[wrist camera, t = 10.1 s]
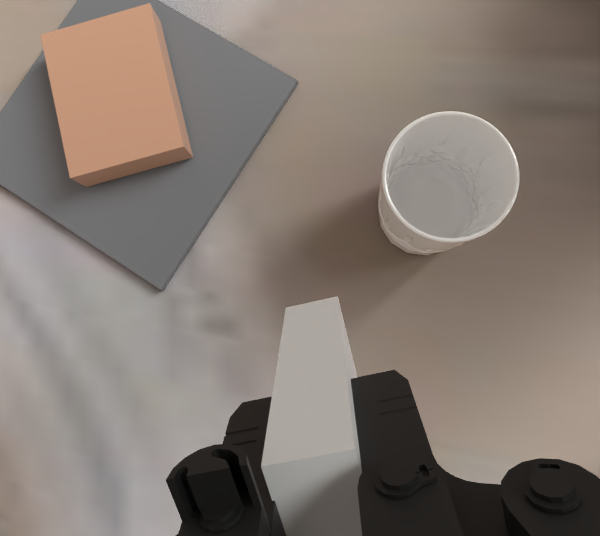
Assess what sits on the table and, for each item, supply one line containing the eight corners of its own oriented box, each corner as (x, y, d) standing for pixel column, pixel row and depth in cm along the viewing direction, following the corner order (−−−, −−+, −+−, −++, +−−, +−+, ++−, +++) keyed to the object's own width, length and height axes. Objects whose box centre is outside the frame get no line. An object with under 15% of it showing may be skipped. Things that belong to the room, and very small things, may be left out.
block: (88, 188, 41) (59, 53, 42) (194, 158, 40) (162, 24, 42) (69, 178, 38) (40, 34, 39) (183, 146, 38) (149, 3, 39)
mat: (103, -28, 43) (100, -33, 43) (298, 83, 41) (297, 80, 40) (-29, 164, 42) (-34, 161, 42) (163, 290, 40) (160, 290, 39)
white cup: (454, 277, 38) (495, 261, 29) (356, 243, 39) (363, 216, 29) (486, 182, 39) (537, 134, 29) (389, 151, 40) (407, 94, 30)
